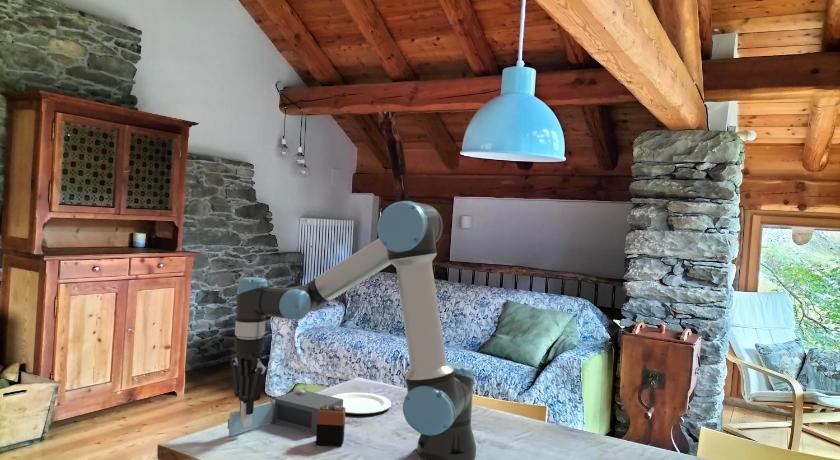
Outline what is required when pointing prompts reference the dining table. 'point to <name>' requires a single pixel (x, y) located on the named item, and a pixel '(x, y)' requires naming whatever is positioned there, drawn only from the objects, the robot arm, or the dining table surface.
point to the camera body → (301, 409)
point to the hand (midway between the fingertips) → (245, 425)
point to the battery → (330, 426)
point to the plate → (363, 403)
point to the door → (259, 418)
